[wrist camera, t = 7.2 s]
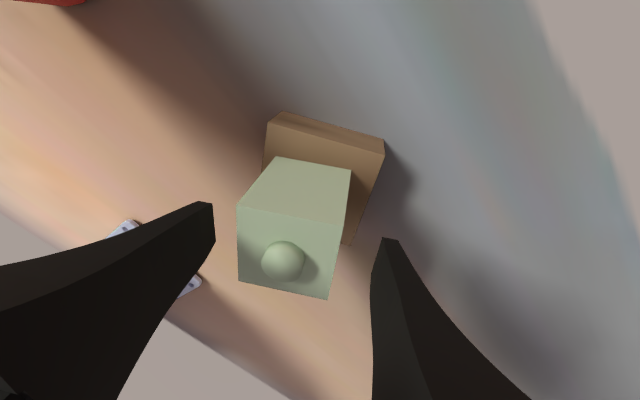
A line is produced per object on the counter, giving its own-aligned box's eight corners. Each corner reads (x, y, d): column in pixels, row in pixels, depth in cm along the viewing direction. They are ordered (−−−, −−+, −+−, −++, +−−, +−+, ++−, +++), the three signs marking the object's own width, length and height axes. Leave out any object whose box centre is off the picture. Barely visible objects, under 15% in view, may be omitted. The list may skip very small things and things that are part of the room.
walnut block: (353, 218, 19) (350, 245, 16) (270, 194, 19) (255, 218, 17) (383, 137, 16) (385, 155, 13) (284, 109, 16) (267, 122, 13)
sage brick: (338, 231, 16) (325, 312, 11) (272, 218, 16) (232, 291, 12) (351, 169, 14) (342, 236, 9) (275, 156, 14) (228, 213, 9)
